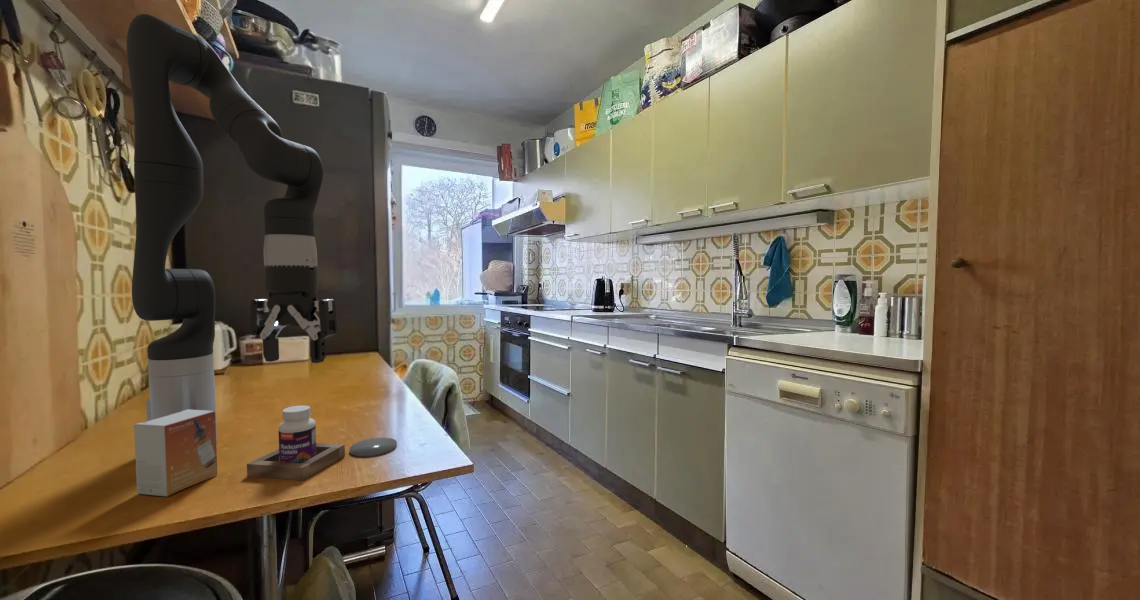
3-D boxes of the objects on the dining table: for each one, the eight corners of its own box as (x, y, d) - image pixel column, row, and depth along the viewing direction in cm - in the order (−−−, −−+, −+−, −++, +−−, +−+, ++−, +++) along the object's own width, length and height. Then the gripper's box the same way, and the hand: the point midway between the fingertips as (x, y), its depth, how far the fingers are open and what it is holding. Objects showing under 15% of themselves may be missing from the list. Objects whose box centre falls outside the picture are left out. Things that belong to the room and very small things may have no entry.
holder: (247, 476, 73) (246, 463, 73) (294, 452, 83) (294, 441, 83) (303, 480, 71) (302, 467, 71) (344, 455, 81) (344, 444, 81)
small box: (166, 498, 66) (162, 426, 65) (135, 494, 67) (131, 423, 66) (219, 474, 74) (216, 410, 73) (191, 472, 75) (188, 408, 74)
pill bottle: (276, 474, 74) (273, 414, 73) (283, 462, 79) (281, 406, 78) (314, 469, 76) (312, 410, 75) (319, 457, 81) (317, 402, 80)
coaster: (339, 455, 81) (339, 452, 81) (366, 439, 89) (366, 436, 89) (381, 458, 80) (381, 454, 80) (405, 441, 88) (404, 438, 88)
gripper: (233, 263, 73) (238, 365, 74) (313, 262, 71) (317, 367, 71) (271, 265, 80) (275, 357, 81) (345, 264, 78) (348, 358, 79)
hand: (295, 361), depth 76 cm, fingers open, 8 cm apart
